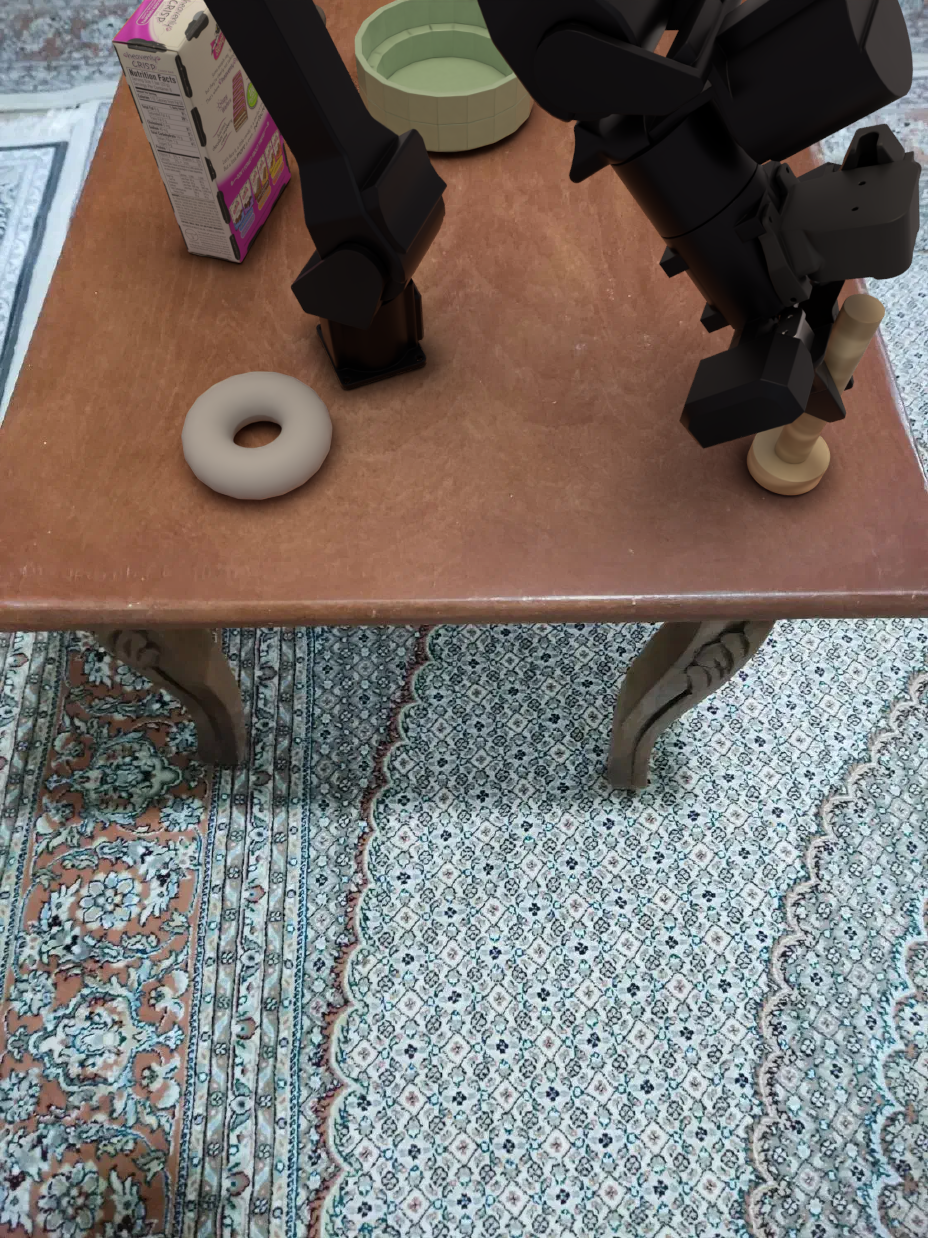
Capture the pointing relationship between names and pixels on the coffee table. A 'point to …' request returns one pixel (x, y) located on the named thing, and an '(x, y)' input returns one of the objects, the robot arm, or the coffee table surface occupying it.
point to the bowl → (438, 75)
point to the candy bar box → (202, 126)
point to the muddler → (797, 449)
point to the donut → (266, 465)
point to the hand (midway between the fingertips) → (841, 403)
